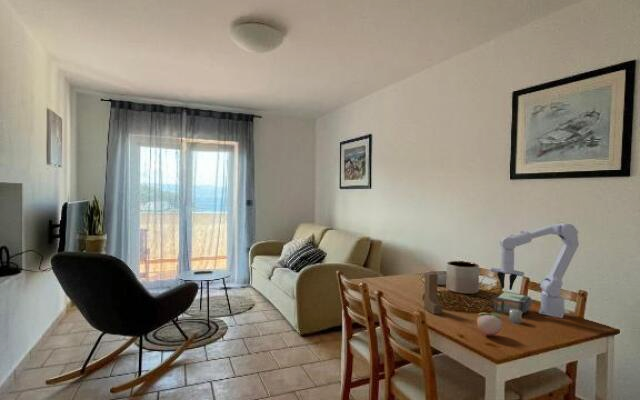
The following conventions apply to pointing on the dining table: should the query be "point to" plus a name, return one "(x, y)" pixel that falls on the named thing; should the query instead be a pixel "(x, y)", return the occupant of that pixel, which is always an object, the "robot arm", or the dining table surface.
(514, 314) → the stone
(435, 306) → the grey upright bracket
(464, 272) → the planter
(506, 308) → the trapdoor frame
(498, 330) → the decorative fruit
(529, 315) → the dining table surface
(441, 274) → the tin
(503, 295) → the trapdoor
